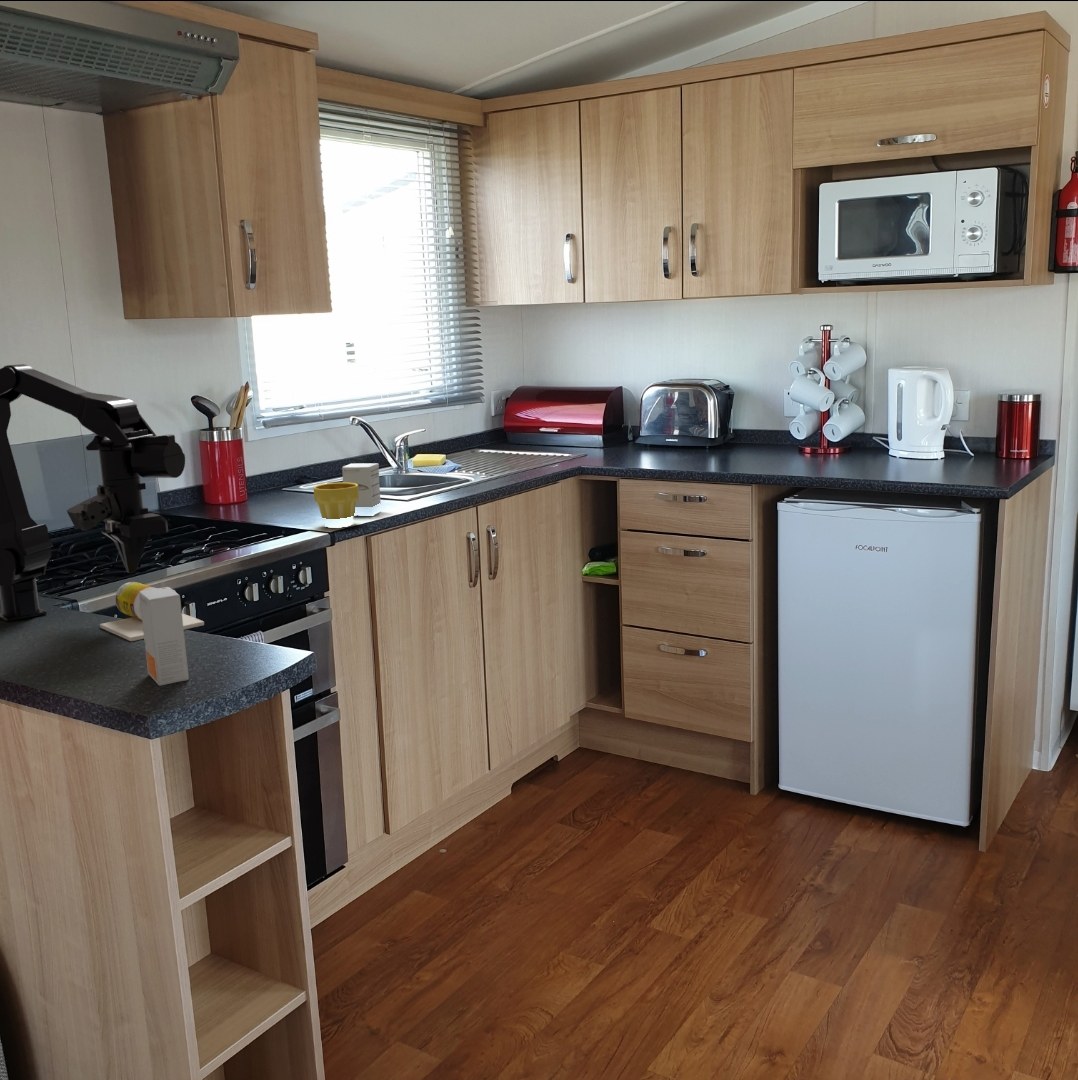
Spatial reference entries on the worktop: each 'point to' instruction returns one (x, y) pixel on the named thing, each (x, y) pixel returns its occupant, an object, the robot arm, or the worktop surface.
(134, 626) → the mat
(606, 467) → the worktop surface
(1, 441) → the robot arm
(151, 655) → the skincare box
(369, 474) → the supplement box
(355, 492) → the plant pot
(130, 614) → the supplement bottle
